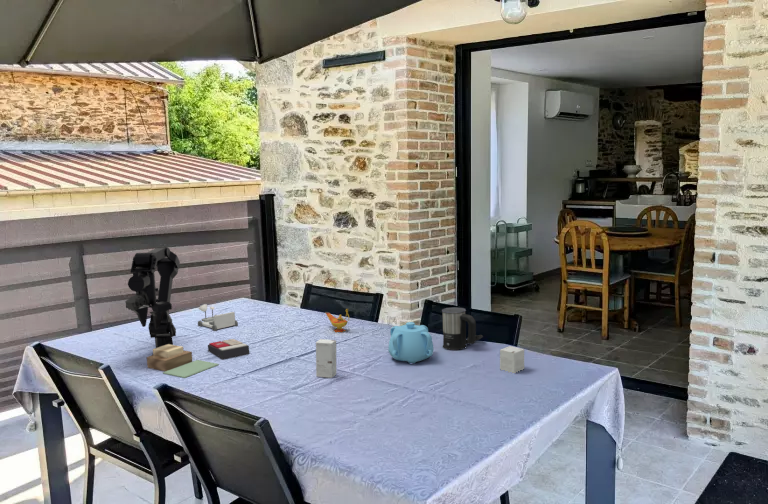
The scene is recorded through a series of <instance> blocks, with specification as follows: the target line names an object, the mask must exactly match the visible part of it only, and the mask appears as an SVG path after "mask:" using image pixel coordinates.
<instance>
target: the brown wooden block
mask: <svg viewBox="0 0 768 504" xmlns="http://www.w3.org/2000/svg"><path fill="white" fill-rule="evenodd" d="M183 352H184V353H182V354H179V355H177V356H174V357H171V358H164V357H159V356H154V355H153V354H152V355H149V356H146V364H147V368H148V369H152V370H156V371H160V372H161V371H162V372H165V371H168V370H171V369H174V368H176V367H179V366H182V365H185V364H187V363H190V362H193V354H192V353H193V352H192V351H190V350H184V349H183Z"/></svg>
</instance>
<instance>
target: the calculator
mask: <svg viewBox="0 0 768 504" xmlns="http://www.w3.org/2000/svg"><path fill="white" fill-rule="evenodd" d="M207 352H208V353H210V354H212V355H214V356H216V357H217V358H218V359H220V360H222V361H223V360H228V359H233V358H239V357H242V356H248V355H250V345H249V344H246V343H244V342H243V341H240V340H237V339H234V338H230V339H226V340H221V341H220V340H219V341H214V342H209V344H207Z"/></svg>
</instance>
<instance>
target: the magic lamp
mask: <svg viewBox="0 0 768 504" xmlns="http://www.w3.org/2000/svg"><path fill="white" fill-rule="evenodd" d="M345 312H346V314H345V318H344V317H343V315H342V314H339V316H338V317H335V316H334V315H332V314H331V313H330V312H328V311H325V312H324V313H325V315H326V316H327V318H328V320H329V322H330V323H331V324H330V325H332V326H333V327H335V328H336V329H334V330H333V332H334V331H335V332H334V333H337V332H341V333H344V332H343V331H345V332H346V330H345V329H344V328H347V324H348V322H349V321H350V315H349V308H345ZM347 317H348V319H347ZM346 319H347V320H346Z"/></svg>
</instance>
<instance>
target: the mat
mask: <svg viewBox="0 0 768 504" xmlns="http://www.w3.org/2000/svg"><path fill="white" fill-rule="evenodd" d="M219 365H220V363H215V362H211V361H205V360H201V359H196V360H192V362H190V363H187V364H185V365H182V366H179V367H176V368H174V369H171V370H168V371H162V374H163V375H167V376H173V377H178V378H182V379H186V378H189V377H191V376H193V375H194V376H195V375H196V374H199V373H203V372H204V371H207V370H210V369H212V368H214V367H218V366H219Z"/></svg>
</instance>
